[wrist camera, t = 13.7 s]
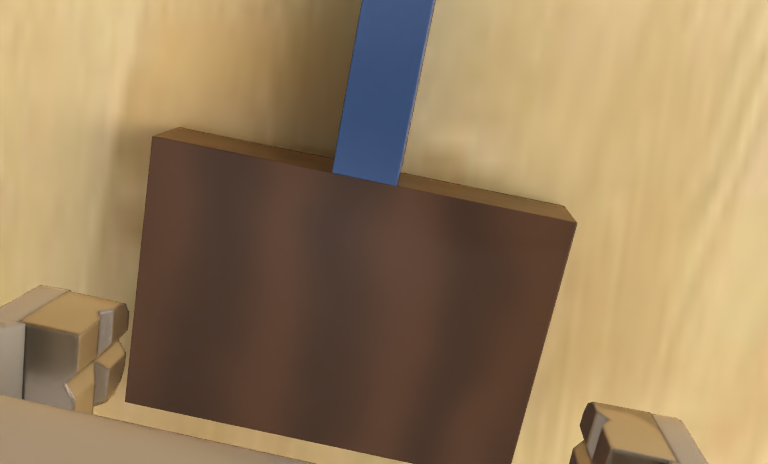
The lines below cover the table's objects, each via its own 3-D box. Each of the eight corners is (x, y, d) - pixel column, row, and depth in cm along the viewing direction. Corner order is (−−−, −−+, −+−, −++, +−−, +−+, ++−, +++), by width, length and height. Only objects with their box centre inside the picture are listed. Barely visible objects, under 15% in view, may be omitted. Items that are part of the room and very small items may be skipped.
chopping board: (564, 205, 36) (577, 222, 32) (500, 446, 39) (505, 483, 36) (179, 127, 36) (152, 135, 33) (151, 372, 40) (124, 402, 36)
